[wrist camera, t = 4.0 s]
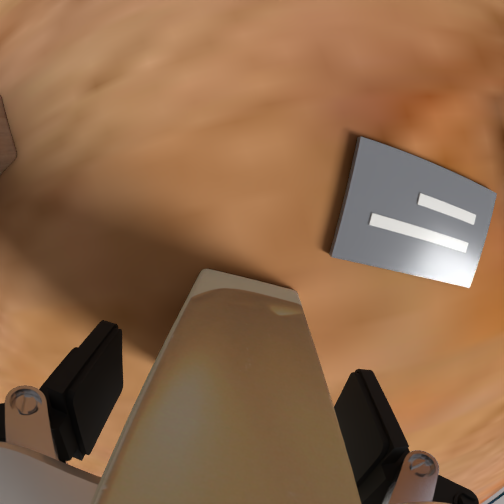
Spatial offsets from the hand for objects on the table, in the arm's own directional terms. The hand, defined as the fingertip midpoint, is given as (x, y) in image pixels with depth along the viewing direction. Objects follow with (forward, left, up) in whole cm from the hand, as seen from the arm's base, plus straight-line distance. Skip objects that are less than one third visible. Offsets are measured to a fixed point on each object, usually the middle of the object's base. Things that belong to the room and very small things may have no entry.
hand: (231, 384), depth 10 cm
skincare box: (0, 0, -4) cm, 4 cm away
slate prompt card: (-7, -7, -4) cm, 11 cm away
